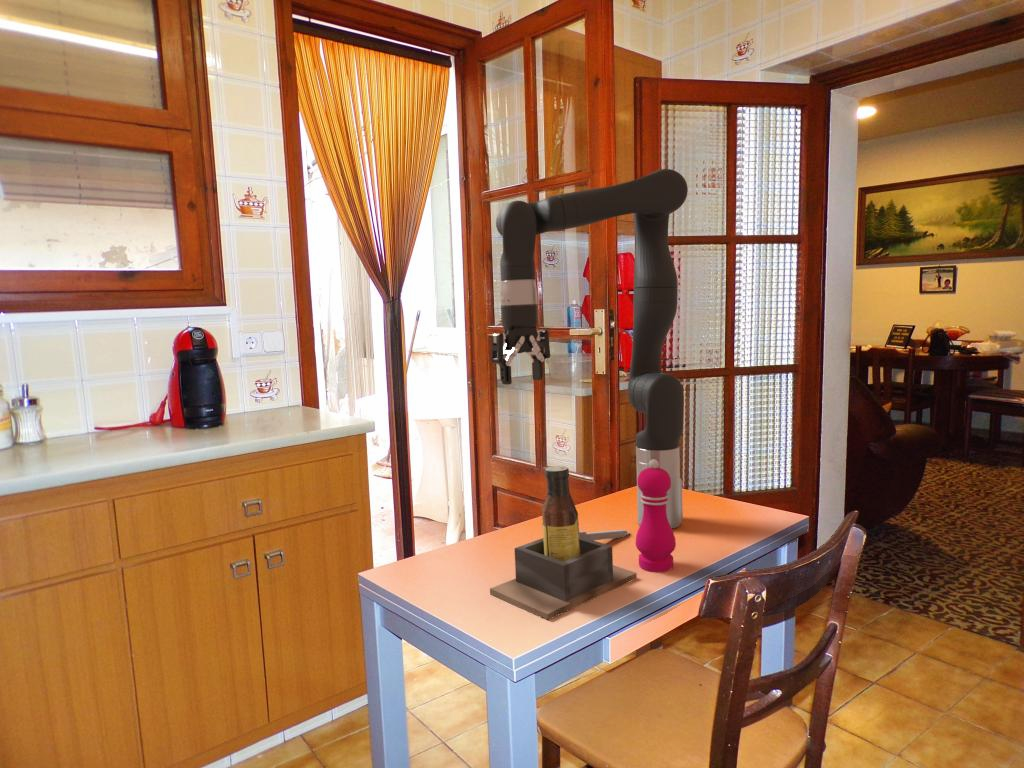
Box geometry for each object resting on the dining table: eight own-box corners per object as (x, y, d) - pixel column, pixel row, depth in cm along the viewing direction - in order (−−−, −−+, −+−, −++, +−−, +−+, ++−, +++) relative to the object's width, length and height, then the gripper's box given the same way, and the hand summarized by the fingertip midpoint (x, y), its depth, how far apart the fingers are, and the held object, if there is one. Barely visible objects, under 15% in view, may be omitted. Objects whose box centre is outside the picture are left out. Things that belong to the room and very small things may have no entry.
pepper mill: (628, 562, 126) (625, 458, 124) (660, 555, 129) (658, 453, 127) (651, 576, 119) (648, 465, 117) (684, 568, 122) (682, 460, 120)
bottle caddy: (578, 558, 129) (577, 523, 129) (636, 578, 119) (635, 539, 118) (490, 594, 115) (488, 554, 114) (547, 620, 104) (545, 576, 104)
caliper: (560, 561, 129) (559, 529, 128) (556, 560, 130) (555, 528, 129) (631, 535, 142) (630, 506, 141) (626, 534, 143) (626, 505, 142)
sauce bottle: (589, 581, 116) (585, 468, 114) (560, 591, 112) (556, 475, 110) (565, 570, 121) (561, 462, 119) (537, 579, 118) (532, 468, 116)
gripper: (504, 303, 130) (508, 387, 131) (556, 301, 139) (559, 379, 141) (480, 304, 135) (484, 384, 137) (532, 302, 145) (535, 377, 146)
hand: (522, 382), depth 139 cm, fingers open, 8 cm apart
